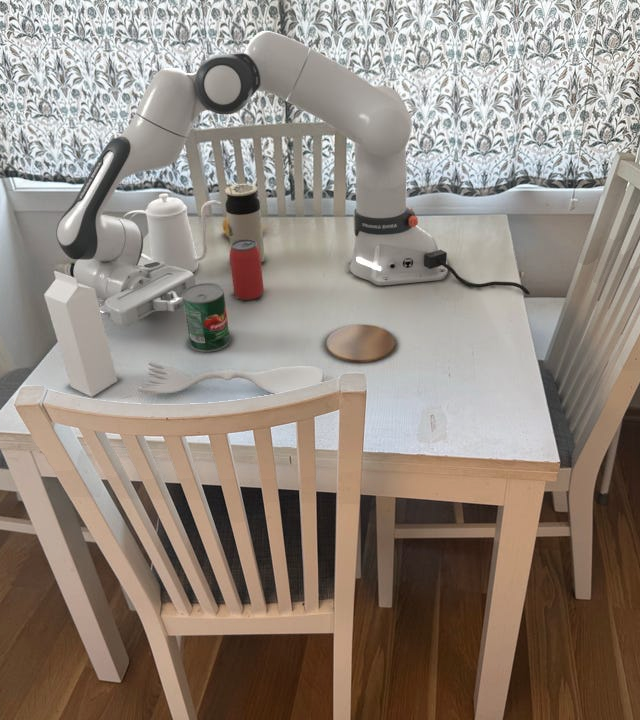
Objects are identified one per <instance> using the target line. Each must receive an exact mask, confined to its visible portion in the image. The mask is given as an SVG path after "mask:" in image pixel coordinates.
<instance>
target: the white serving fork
mask: <svg viewBox="0 0 640 720" xmlns="http://www.w3.org/2000/svg"><path fill="white" fill-rule="evenodd" d="M148 365H149V366H150V367H149V368H148V370H149V371H150V372H147V374H148V375H149V376H150V377H147V378H146V380H147V381H148V382H143V383H142V384H143V385H140V387H137V388H136V391H137V392H139V393H141V394H172V393H178V392H182V391H184V390H186V389H188V388H190V387H193V386H194V385H196V384H198V383H200V382H203V381H205V380H210V379H224V380H225V381H231V380H233V379H236V378H237V379H244V380H247V381H250V382H252V383H253V384H255V386H257V387H258V388H260V389H262V390H264V391H266V392H267V393H270V394H273V393H279V392H284V391H288V390H292V389H295V388H300V387H305V386H309V385H313V384H316V383H320V382H323V383H324V380H325V374H324V371H323V370H322V369H321V368H319V367H317V366H313V365H312V366H311V365H291V366H283V367H282V366H281V367H275V368H272V369H266V370H262V371H257V372H245V371H236V370H234V369H233V368H228V369H225V370H220V371H208V372H204V373H200V374H198V375H195V376H193V375H192V376H191V375H188V374H186V373H185V372H184V371H182V370H179V369H176V368H172V367H170V366H166V365H165V364H161V363H160V362H159V363H158V362H156V361H150V362H148Z"/></svg>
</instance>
